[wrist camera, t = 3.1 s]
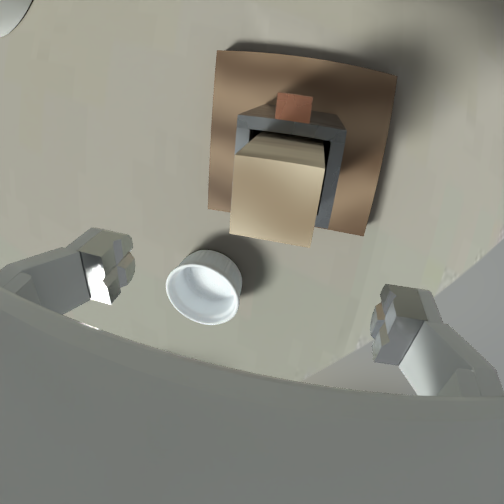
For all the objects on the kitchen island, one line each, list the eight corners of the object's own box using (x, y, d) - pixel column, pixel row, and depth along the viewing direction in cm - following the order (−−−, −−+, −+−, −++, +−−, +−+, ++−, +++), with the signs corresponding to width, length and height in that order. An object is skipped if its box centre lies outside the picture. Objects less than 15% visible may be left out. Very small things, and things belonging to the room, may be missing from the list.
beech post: (276, 118, 26) (234, 153, 14) (322, 125, 25) (325, 168, 13) (271, 161, 28) (228, 233, 16) (315, 168, 28) (310, 248, 15)
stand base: (223, 52, 25) (216, 50, 24) (392, 76, 23) (397, 76, 22) (213, 201, 34) (207, 208, 32) (361, 227, 32) (363, 236, 30)
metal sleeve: (266, 86, 25) (239, 88, 16) (339, 97, 24) (351, 104, 16) (258, 170, 29) (230, 212, 21) (326, 181, 28) (328, 228, 20)
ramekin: (257, 297, 40) (250, 320, 36) (198, 308, 43) (187, 329, 39) (229, 236, 36) (218, 256, 32) (167, 254, 39) (152, 273, 35)
